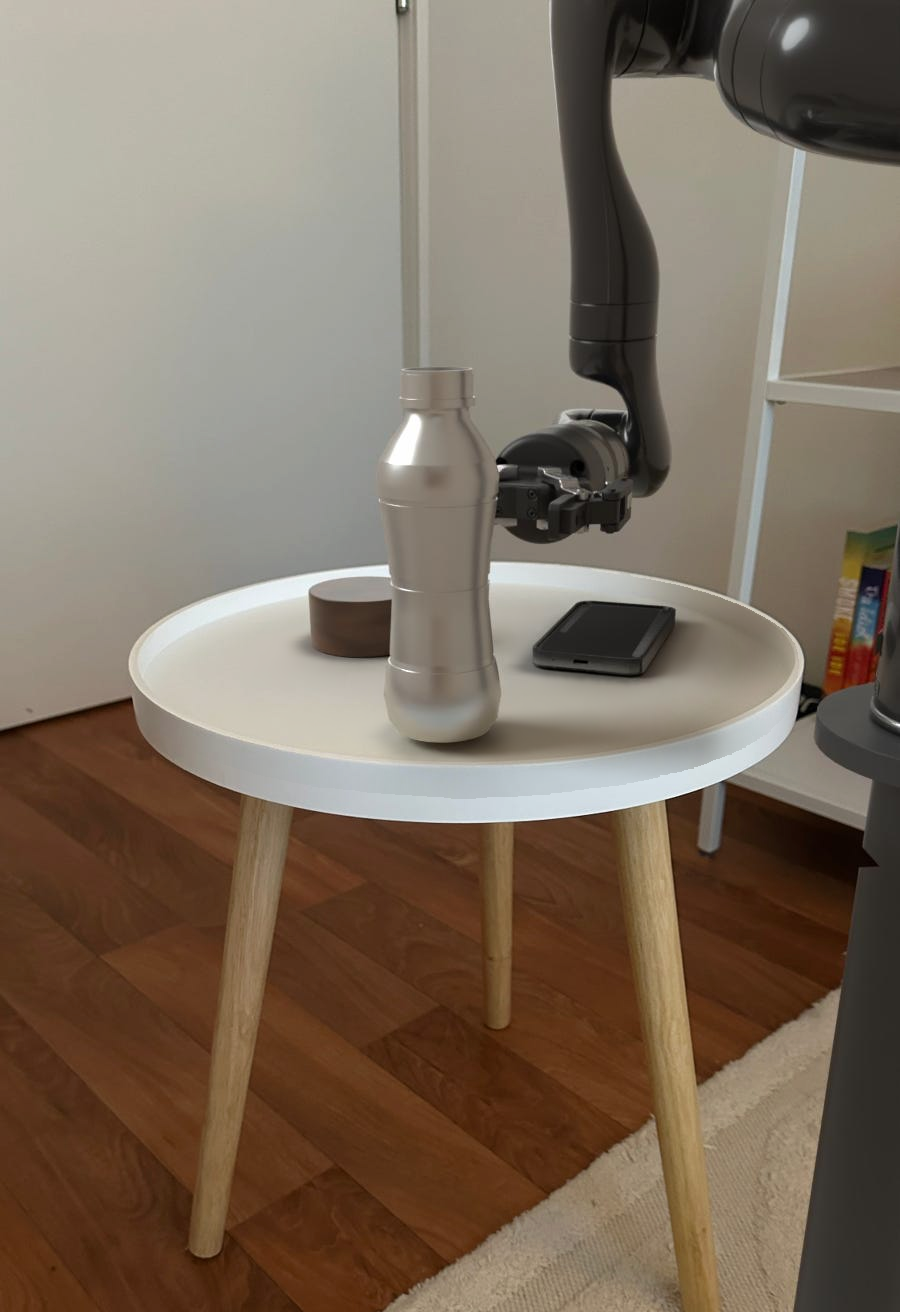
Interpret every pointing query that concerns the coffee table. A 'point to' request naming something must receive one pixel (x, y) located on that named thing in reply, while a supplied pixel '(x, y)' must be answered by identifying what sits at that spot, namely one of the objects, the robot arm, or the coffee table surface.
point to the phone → (605, 637)
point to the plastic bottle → (439, 561)
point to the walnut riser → (351, 616)
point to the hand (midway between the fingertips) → (485, 519)
